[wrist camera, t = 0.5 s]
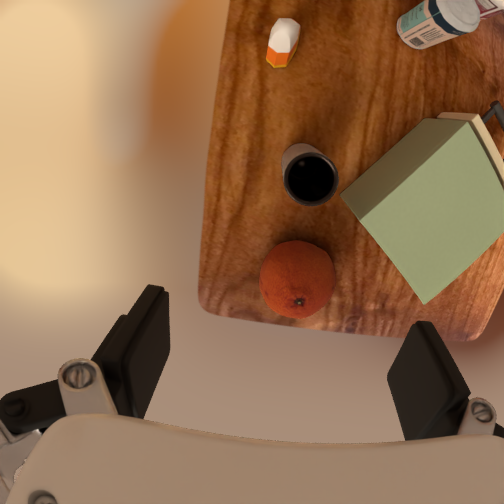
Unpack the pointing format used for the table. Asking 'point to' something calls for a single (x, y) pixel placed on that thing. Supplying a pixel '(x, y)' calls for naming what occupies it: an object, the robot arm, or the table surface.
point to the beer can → (437, 22)
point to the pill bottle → (490, 8)
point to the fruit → (297, 279)
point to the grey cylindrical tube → (308, 175)
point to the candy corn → (283, 42)
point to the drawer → (484, 133)
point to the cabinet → (431, 203)
